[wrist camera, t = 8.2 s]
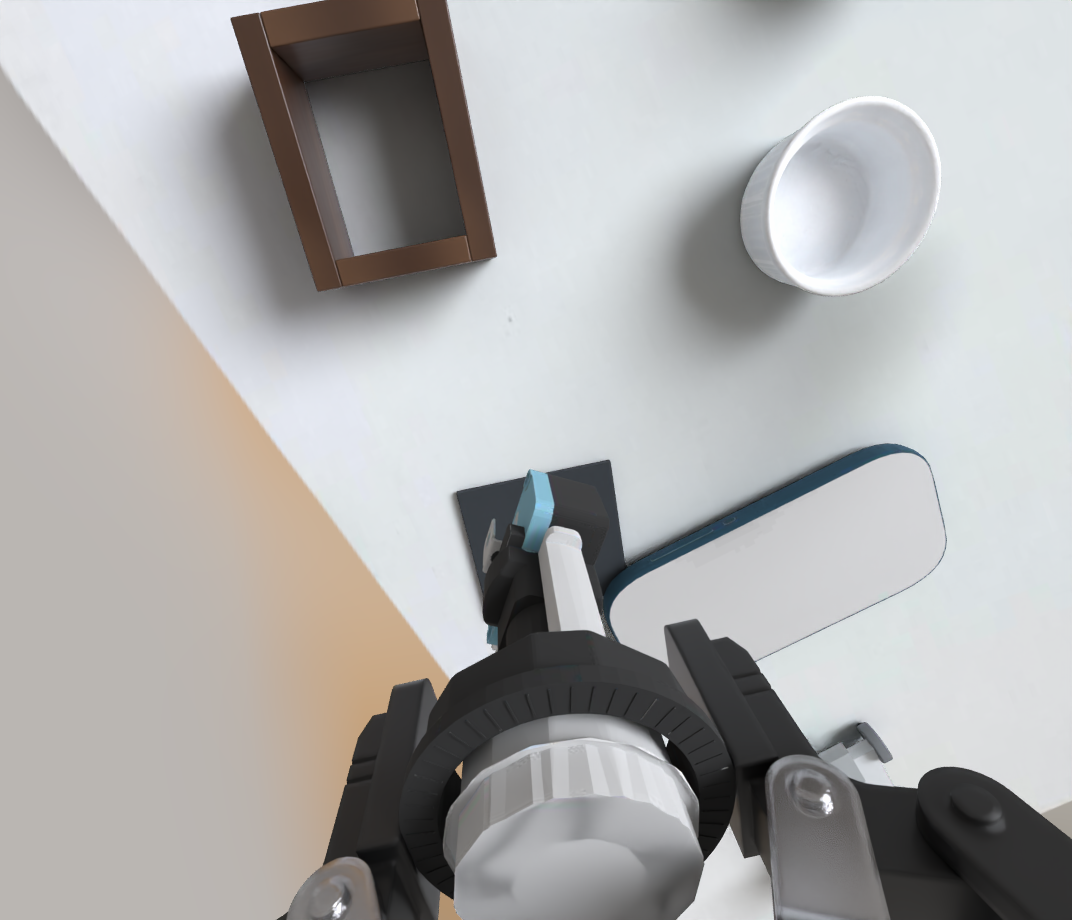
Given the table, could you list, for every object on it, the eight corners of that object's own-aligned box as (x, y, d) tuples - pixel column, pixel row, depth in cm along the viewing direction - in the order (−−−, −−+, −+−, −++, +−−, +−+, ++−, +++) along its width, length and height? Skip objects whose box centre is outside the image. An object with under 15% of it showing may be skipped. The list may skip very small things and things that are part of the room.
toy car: (790, 889, 36) (949, 810, 34) (727, 761, 45) (850, 695, 43) (875, 1001, 42) (1013, 937, 40) (804, 868, 51) (914, 813, 50)
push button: (573, 654, 18) (649, 1056, 9) (422, 622, 18) (335, 1031, 8) (641, 485, 16) (832, 779, 7) (474, 440, 15) (437, 707, 6)
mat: (489, 617, 37) (489, 621, 37) (456, 491, 34) (456, 493, 33) (627, 587, 38) (629, 591, 37) (609, 459, 34) (610, 461, 34)
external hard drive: (647, 690, 41) (656, 711, 39) (584, 580, 36) (591, 597, 35) (933, 552, 39) (956, 567, 37) (901, 421, 35) (925, 430, 33)
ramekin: (738, 310, 31) (776, 317, 27) (718, 144, 28) (758, 125, 24) (881, 269, 31) (940, 269, 27) (877, 98, 28) (944, 71, 24)
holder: (340, 288, 29) (317, 292, 25) (271, 58, 25) (229, 17, 21) (494, 257, 29) (497, 256, 25) (448, 25, 25) (442, -23, 21)
